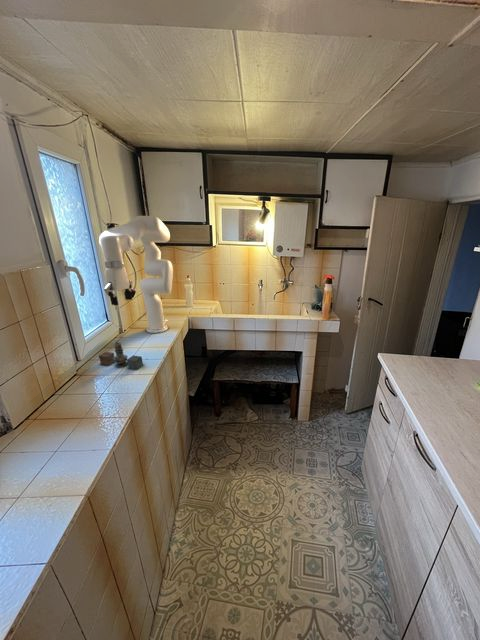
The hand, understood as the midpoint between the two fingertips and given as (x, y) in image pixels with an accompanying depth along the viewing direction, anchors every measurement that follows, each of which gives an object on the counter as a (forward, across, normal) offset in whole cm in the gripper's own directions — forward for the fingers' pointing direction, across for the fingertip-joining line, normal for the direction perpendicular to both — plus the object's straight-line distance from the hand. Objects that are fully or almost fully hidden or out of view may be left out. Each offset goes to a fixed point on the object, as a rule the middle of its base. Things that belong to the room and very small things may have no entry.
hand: (122, 302), depth 133 cm
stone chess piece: (+26, +13, +4) cm, 30 cm away
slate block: (+26, +13, +12) cm, 32 cm away
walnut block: (+26, +13, -4) cm, 30 cm away
